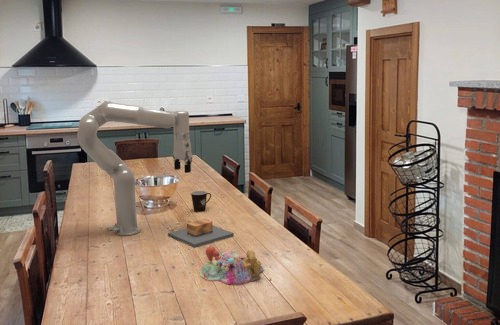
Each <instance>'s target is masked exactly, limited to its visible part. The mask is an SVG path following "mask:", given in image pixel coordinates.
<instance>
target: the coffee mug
mask: <svg viewBox="0 0 500 325" xmlns="http://www.w3.org/2000/svg"><path fill="white" fill-rule="evenodd" d="M190 195H191V200H192V207H193V211H194V212H195V213H203V212H206V209H207V203H208V202H209V201H210V200H211V198H212V194H211V193H210V192H207V191H206V190H205V191H204V190H196V191H192V192H190ZM208 195H209V197H208V199H207V196H208Z"/></svg>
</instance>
